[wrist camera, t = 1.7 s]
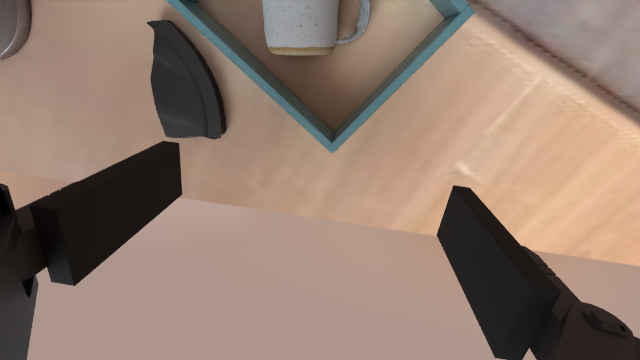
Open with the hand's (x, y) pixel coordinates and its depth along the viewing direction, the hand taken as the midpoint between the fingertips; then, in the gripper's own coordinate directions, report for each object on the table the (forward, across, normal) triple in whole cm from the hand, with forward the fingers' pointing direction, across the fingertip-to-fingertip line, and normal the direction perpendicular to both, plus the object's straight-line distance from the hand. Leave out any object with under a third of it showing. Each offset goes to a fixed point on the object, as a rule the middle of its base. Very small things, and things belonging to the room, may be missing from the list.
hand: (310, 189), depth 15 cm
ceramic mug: (+24, -3, +10) cm, 26 cm away
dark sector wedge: (+24, -18, 0) cm, 30 cm away
